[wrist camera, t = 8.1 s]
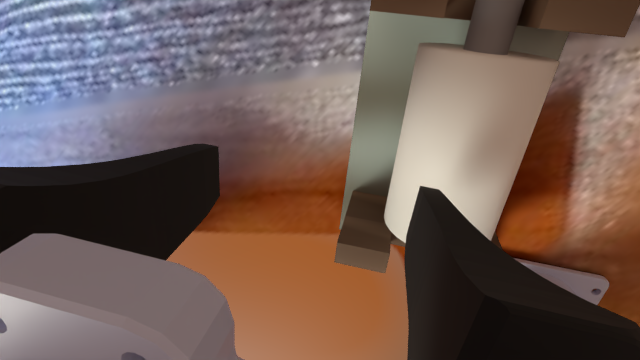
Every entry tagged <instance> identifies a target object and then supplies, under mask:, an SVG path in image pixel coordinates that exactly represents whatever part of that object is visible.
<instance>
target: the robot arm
mask: <svg viewBox="0 0 640 360" xmlns="http://www.w3.org/2000/svg"><path fill="white" fill-rule="evenodd" d="M219 196H220V189H219V153H218V147H217V146H212V145H207V144H193V145H187V146H182V147H177V148H173V149H168V150H164V151H159V152H155V153H150V154H145V155H140V156H135V157H130V158H125V159H120V160H114V161H107V162H99V163H91V164H81V165H67V166H51V167H0V360H244V359H242V358H240V357H238V356H237V354H236V351H235V345H234V320H233V317H232V314H231V311H230V309H229V305H228V302H227V299H226V298H225V296H224V295H223V294H222V293H221V292H220V291H219V290H218V289H217V288H216V287H215V286H214V285H213V284H212V283H211V282H210V281H209V279H207V278H206V276H204V275H202V274H200V273H197V272H195V271H193V270H191V269H189V268H187V267H185V266H182V265H180V264H177V263H173V262H169V261H166V260H167V259H168V257H169V256H170V255H171V254H172V253H173V252H174V251H175V250H176V249H177V248H178V246H179V245H180V244H181V243H182V242H183V241H184V240H185V239H186V238H187V237H188V236H189V235H190V234H191V233H192V231H193V230H194V229H195V228H196V227H197V226H198V225H199V224H200V223H201V221H202V220H203V219H204V218H205V217H206V216H207V214H208V213H209V212H210V210H211V209H212V207H213V206H214V204H215V202H216V201H217V199H218V198H219ZM405 276H406V290H407V303H408V319H409V335H408V360H640V327H639V326H638V325H637V323H636V322H633V321H631V320H629V319H627V318H624V317H622V316H620V315H618V314H616V313H613V312H611V311H609V310H607V309H604V308H602V307H600V306H598V303H599V302H600V300H601V299H602V297H603V295H604V294H605V292H606V291H607V289H608V287H609V282H608V280H607V279H606V278H605V277H604V276H601V275H596V274H591V273H586V272H581V271H576V270H571V269H566V268H561V267H556V266H552V265H547V264H542V263H537V262H532V261H527V260H522V259H517V258H512V257H511V256H510V255H508V254H507V253H506V252H504V251H503V250H502V249H500V248H499V247H498V246H496V245H495V244H494V243H493V242H491V241H490V240H489V239H488V238H487V237H485V236H484V235H483V234H482V233H481V232H480V231H479V230H478V229H477V228H476V227H475V226H473V225H472V224H471V223H470V222H469V221H468V220H467V219H466V218H465V217H464V215H463V214H462V213H461V212H460V211H459V210H458V209H457V208H456V207H455V206H454V205H453V204H452V203H451V201H450V200H449V199H448V198H447V197H446V196H445V195H444V194H443V193H442V192H441V191H440V190H439V189H434V188H429V187H424V186H420V188H419V191H418V195H417V199H416V202H415V206H414V209H413V213H412V217H411V220H410V224H409V228H408V231H407V235H406V245H405ZM593 289H597V290H594V291H592V290H593Z"/></svg>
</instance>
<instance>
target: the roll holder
mask: <svg viewBox="0 0 640 360" xmlns="http://www.w3.org/2000/svg"><path fill="white" fill-rule="evenodd" d="M475 1H476V0H371V6H370V15H369V22H368V29H367V36H366V44H365V51H364V58H363V65H362V72H361V79H360V86H359V93H358V100H357V107H356V114H355V121H354V129H353V136H352V143H351V150H350V157H349V164H348V171H347V178H346V185H345V192H344V199H343V207H342V214H341V221H340V228H339V229H341V232H340V235H339V238H338V242H337V248H336V255H335V262H336V263H340V264H345V265H349V266H354V267H358V268H363V269H368V270H372V271H377V272H381V273H385V272H386V268H387V263H388V259H389V255H390V244H394V245H399V246H404V247H405V245H406V243H404V242H403V241H401V240H400V239H399V238H397V237H396V236H395V235H394V234H393V233H392V232H391V231H390V230H389V228H388V227H387V225H386V223H385V220H384V212H385V207H386V202H387V197H388V192H389V188H390V183H391V178H392V173H393V168H394V163H395V158H396V153H397V148H398V143H399V138H400V134H401V129H402V124H403V119H404V114H405V109H406V104H407V99H408V94H409V89H410V84H411V80H412V75H413V70H414V65H415V60H416V55H417V50H418V45H419V43H449V44H460V45H464V44H465V40H466V36H467V32H468V28H469V24H470V21H471V17H472V13H473V9H474V5H475ZM639 5H640V0H525V1H524V4H523V7H522V11H521V14H520V17H519V20H518V23H517V26H516V30H515V33H514V36H513V39H512V42H511V45H510V49H509V51H515V52H522V53H527V54H533V55H538V56H543V57H547V58H551V59H555V60H557V61H558V60H559V57H560V55H561V52H562V50H563V47H564V44H565V42H566V39H567V37H568V34H569V32H579V33H588V34H598V35H607V36H617V37H625V35H626V33H627V31H628V29H629V27H630V24H631V22H632V20H633V18H634V16H635V13H636V11H637V9H638V7H639ZM491 242H493V243H494V244H495V245H496V246H498V247H499V248H500V249H502V247H501V245H500V242H499V240H498V237H497V235H496V232H494V234H493V237H492V240H491Z"/></svg>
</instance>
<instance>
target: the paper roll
mask: <svg viewBox="0 0 640 360" xmlns="http://www.w3.org/2000/svg"><path fill="white" fill-rule="evenodd" d="M524 1H525V0H476V1H475V5H474V9H473V13H472V17H471V21H470V24H469V28H468V32H467V36H466V40H465V44H464V45H460V44H449V43H419V45H418V50H417V55H416V60H415V65H414V70H413V75H412V80H411V84H410V89H409V94H408V99H407V104H406V109H405V114H404V119H403V124H402V129H401V134H400V138H399V143H398V148H397V153H396V158H395V163H394V168H393V173H392V178H391V183H390V188H389V192H388V197H387V202H386V207H385V212H384V220H385V223H386V225H387V227H388V228H389V230H390V231H391V232H392V233H393V234H394V235H395V236H396V237H397V238H399V239H400V240H401V241H403V242H404V243H406V235H407V231H408V228H409V224H410V220H411V217H412V213H413V209H414V206H415V202H416V199H417V195H418V191H419V188H420V186H424V187H429V188H434V189H439V190H440V191H441V192H442V193H443V194H444V195H445V196H446V197H447V198H448V199H449V200H450V201H451V203H452V204H453V205H454V206H455V207H456V208H457V209H458V210H459V211H460V212H461V213H462V214H463V215H464V217H465V218H466V219H467V220H468V221H469V222H470V223H471V224H472V225H473V226H475V227H476V228H477V229H478V230H479V231H480V232H481V233H482V234H483V235H484V236H485V237H487V238H488V239H489V240H490V241H491V240H492V237H493V234H494V232H495V229H496V226H497V224H498V221H499V219H500V216H501V213H502V211H503V208H504V206H505V203H506V200H507V198H508V195H509V193H510V190H511V187H512V185H513V182H514V180H515V177H516V174H517V172H518V169H519V167H520V164H521V161H522V159H523V156H524V153H525V151H526V148H527V146H528V143H529V140H530V138H531V135H532V133H533V130H534V127H535V125H536V122H537V120H538V117H539V114H540V112H541V109H542V107H543V104H544V101H545V99H546V96H547V93H548V91H549V88H550V86H551V83H552V80H553V78H554V75H555V73H556V70H557V67H558V65H559V61H557V60H555V59H551V58H547V57H543V56H538V55H533V54H527V53H522V52H515V51H509V49H510V45H511V42H512V39H513V36H514V33H515V30H516V26H517V23H518V20H519V17H520V14H521V11H522V7H523V4H524Z"/></svg>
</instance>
